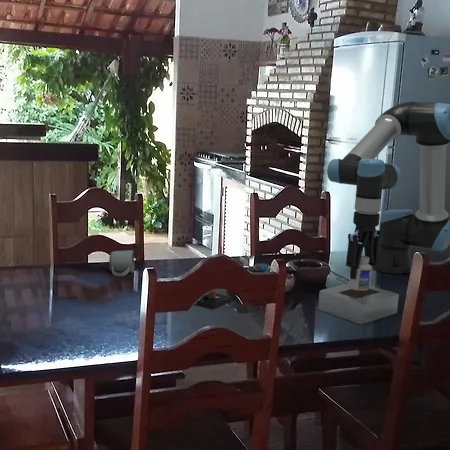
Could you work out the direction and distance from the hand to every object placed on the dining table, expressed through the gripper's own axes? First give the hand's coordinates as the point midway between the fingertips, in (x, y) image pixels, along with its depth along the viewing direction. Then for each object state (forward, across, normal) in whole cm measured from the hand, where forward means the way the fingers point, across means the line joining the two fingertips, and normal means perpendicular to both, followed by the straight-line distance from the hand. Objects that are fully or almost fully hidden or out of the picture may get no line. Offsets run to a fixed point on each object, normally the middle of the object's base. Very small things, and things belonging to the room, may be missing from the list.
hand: (359, 287), depth 193 cm
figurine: (+8, +32, -32) cm, 46 cm away
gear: (+8, +4, -34) cm, 35 cm away
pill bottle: (+1, 0, 0) cm, 1 cm away
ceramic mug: (+8, +36, -73) cm, 82 cm away
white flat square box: (+8, 0, 0) cm, 8 cm away
